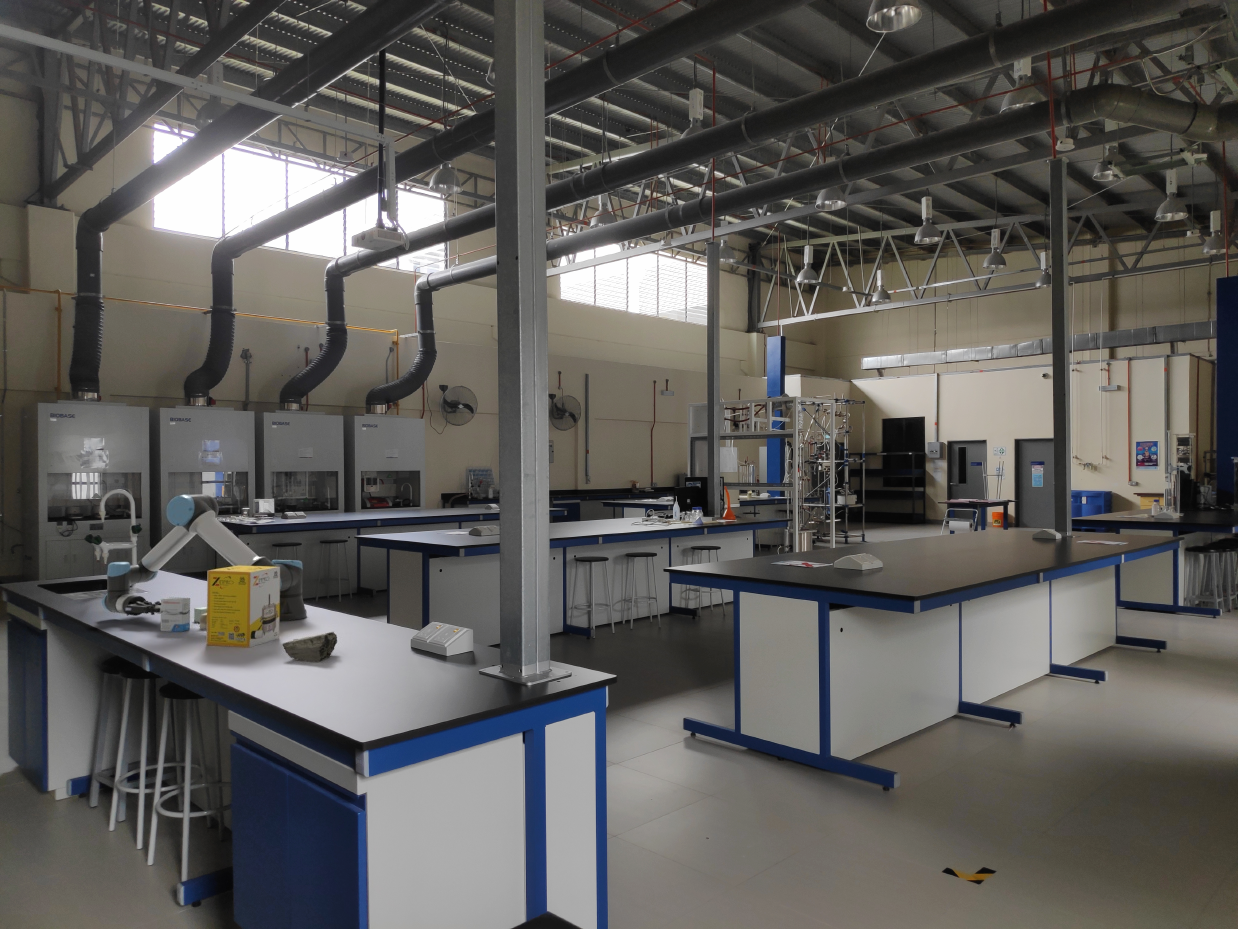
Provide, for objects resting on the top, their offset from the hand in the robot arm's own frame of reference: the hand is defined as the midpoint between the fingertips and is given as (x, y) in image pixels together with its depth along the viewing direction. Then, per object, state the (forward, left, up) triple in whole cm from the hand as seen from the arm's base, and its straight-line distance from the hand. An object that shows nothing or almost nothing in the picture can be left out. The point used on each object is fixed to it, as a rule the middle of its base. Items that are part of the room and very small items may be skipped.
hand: (167, 610), depth 299 cm
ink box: (-5, +1, -7) cm, 9 cm away
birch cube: (-12, -9, -7) cm, 16 cm away
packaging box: (-43, +5, -7) cm, 44 cm away
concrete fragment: (-82, +13, -7) cm, 83 cm away
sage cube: (+2, -17, -7) cm, 19 cm away
